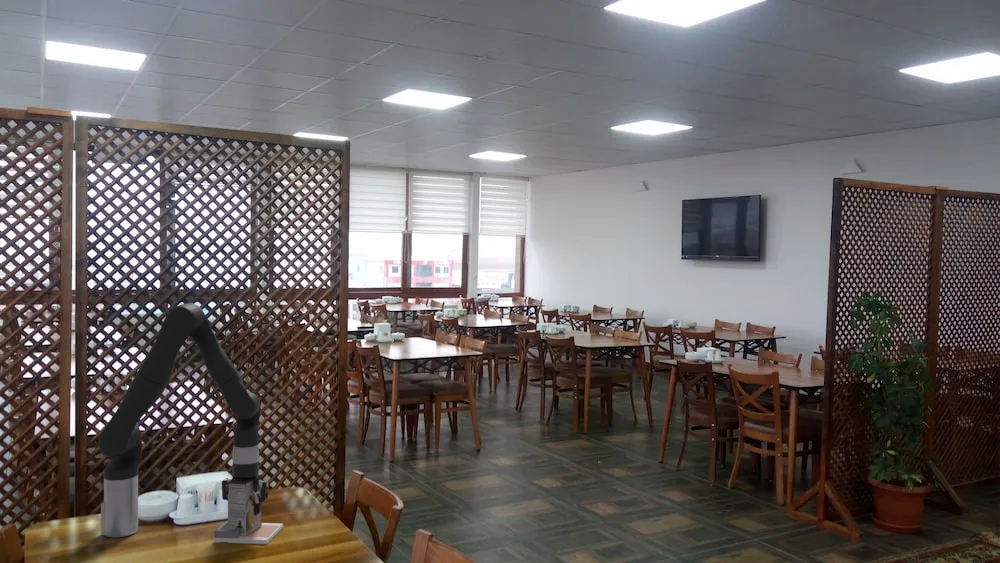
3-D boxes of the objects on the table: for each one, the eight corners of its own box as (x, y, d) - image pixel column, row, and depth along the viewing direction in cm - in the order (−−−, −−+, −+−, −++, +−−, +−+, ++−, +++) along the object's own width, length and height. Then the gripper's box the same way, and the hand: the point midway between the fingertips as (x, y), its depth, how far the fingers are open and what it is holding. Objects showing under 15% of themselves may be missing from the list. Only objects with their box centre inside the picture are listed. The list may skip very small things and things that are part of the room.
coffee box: (243, 524, 234) (243, 472, 233) (262, 526, 233) (262, 474, 232) (226, 534, 225) (227, 481, 224) (246, 536, 224) (247, 482, 223)
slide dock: (213, 542, 222) (213, 531, 222) (233, 525, 236) (233, 515, 236) (267, 544, 221) (267, 533, 221) (283, 527, 235) (283, 517, 235)
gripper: (217, 462, 225) (216, 517, 225) (264, 464, 224) (263, 519, 225) (227, 455, 232) (227, 509, 233) (273, 457, 232) (272, 511, 232)
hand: (244, 513), depth 229 cm, fingers closed on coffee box, 7 cm apart
